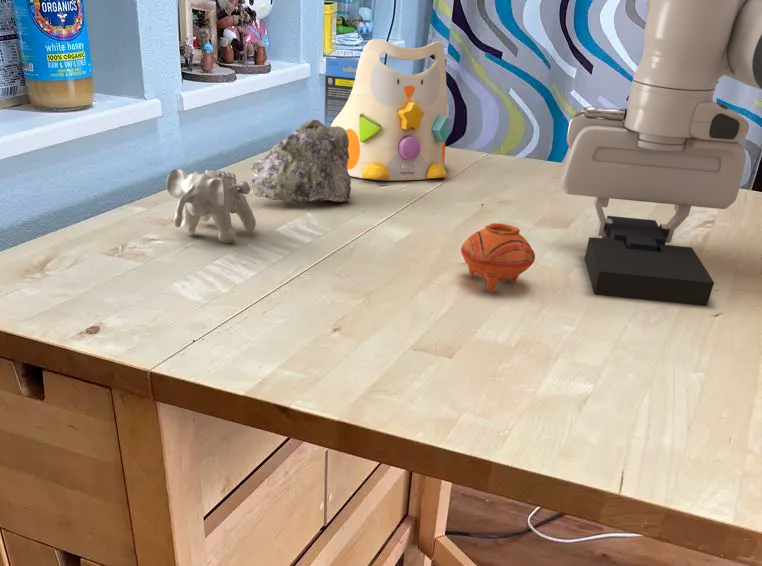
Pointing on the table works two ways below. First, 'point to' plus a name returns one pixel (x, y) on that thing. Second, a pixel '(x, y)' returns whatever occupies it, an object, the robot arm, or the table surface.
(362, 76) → the shape sorter
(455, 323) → the table surface
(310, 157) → the mineral rock
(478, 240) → the pot
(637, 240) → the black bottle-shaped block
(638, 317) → the table surface
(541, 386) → the table surface
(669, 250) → the black notched square block
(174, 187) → the gray elephant figurine
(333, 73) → the tape cartridge
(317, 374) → the table surface
